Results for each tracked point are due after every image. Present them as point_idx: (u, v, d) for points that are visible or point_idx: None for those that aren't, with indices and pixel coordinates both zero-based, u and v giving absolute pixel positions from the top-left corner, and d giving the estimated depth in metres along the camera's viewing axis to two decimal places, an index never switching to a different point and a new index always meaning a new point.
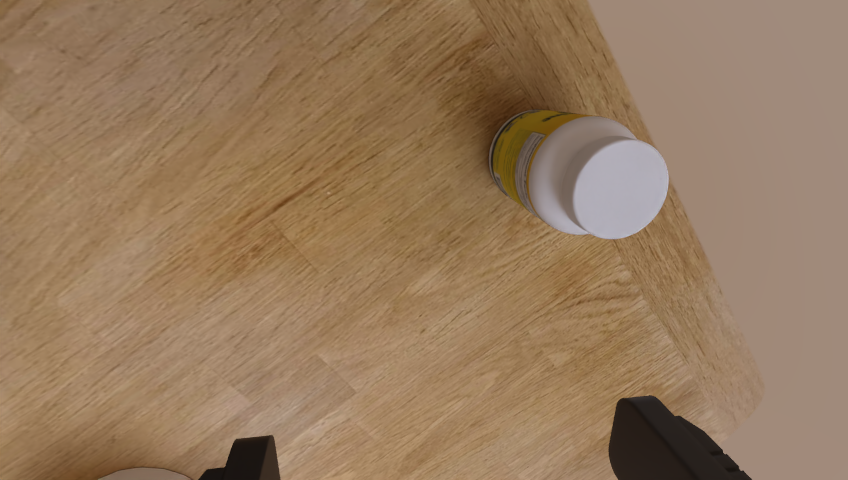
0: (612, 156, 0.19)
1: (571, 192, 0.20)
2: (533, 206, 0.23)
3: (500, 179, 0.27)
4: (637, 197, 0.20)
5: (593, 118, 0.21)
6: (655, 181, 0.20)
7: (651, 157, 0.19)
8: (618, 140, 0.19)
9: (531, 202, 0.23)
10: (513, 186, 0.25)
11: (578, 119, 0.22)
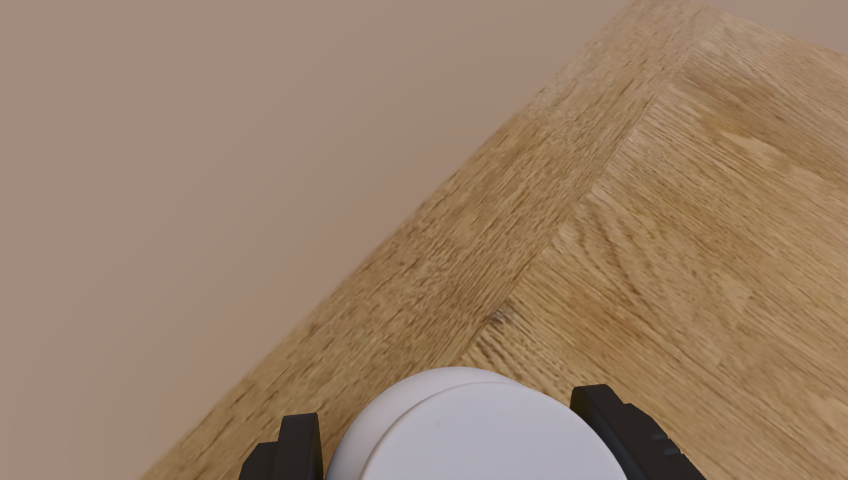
0: None
1: None
2: None
3: None
4: (504, 475, 0.07)
5: None
6: (448, 437, 0.07)
7: None
8: None
9: None
10: None
11: None
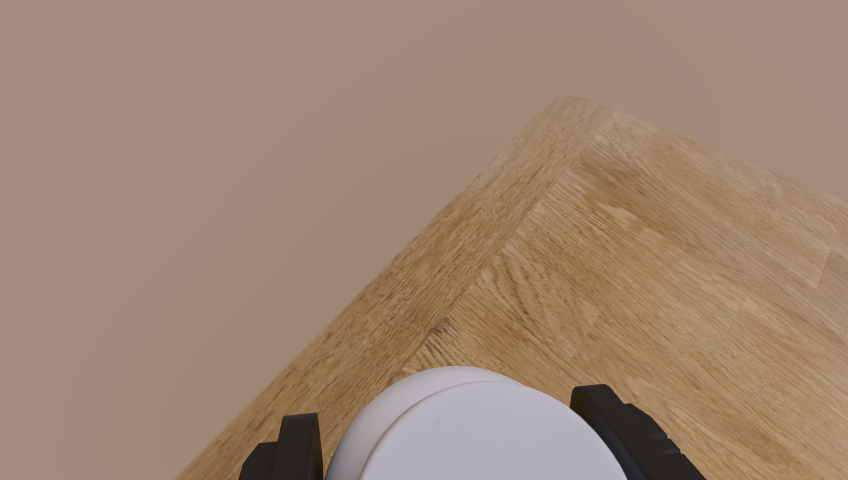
0: None
1: None
2: None
3: None
4: (503, 474, 0.07)
5: None
6: (447, 436, 0.07)
7: None
8: None
9: None
10: None
11: None
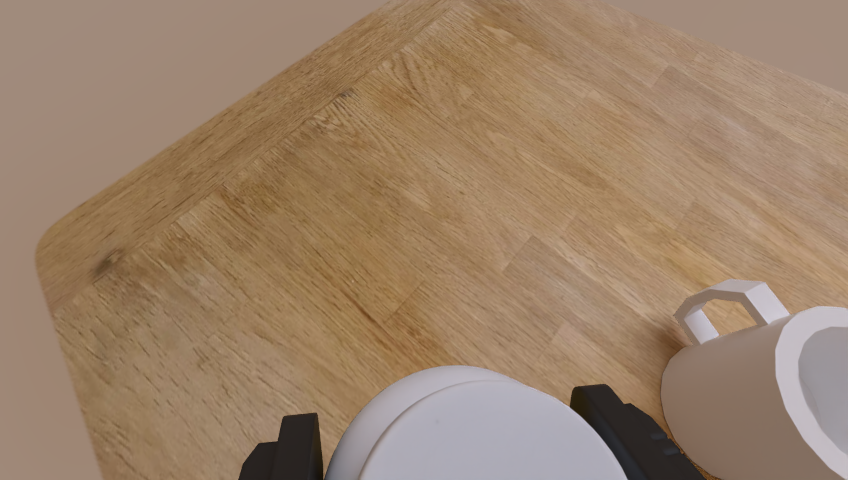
0: None
1: None
2: None
3: None
4: (503, 473, 0.07)
5: None
6: (447, 435, 0.07)
7: None
8: None
9: None
10: None
11: None
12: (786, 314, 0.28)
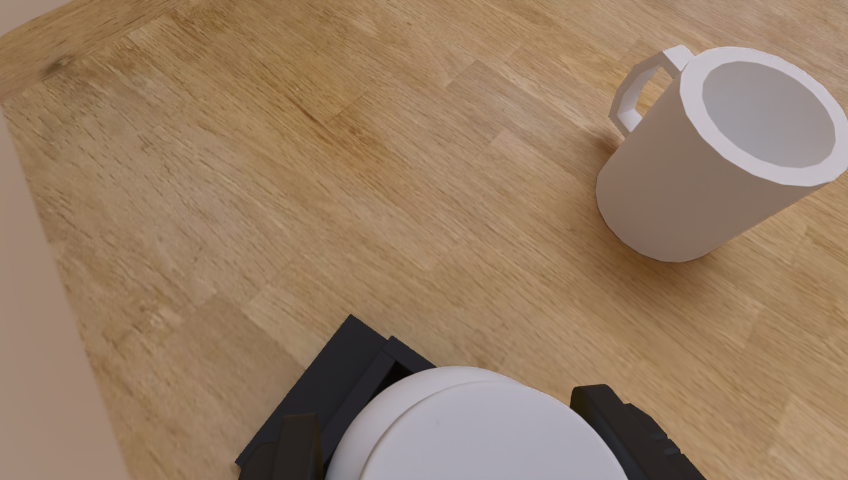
0: None
1: None
2: None
3: None
4: (504, 474, 0.07)
5: None
6: (448, 436, 0.07)
7: None
8: None
9: None
10: None
11: None
12: None
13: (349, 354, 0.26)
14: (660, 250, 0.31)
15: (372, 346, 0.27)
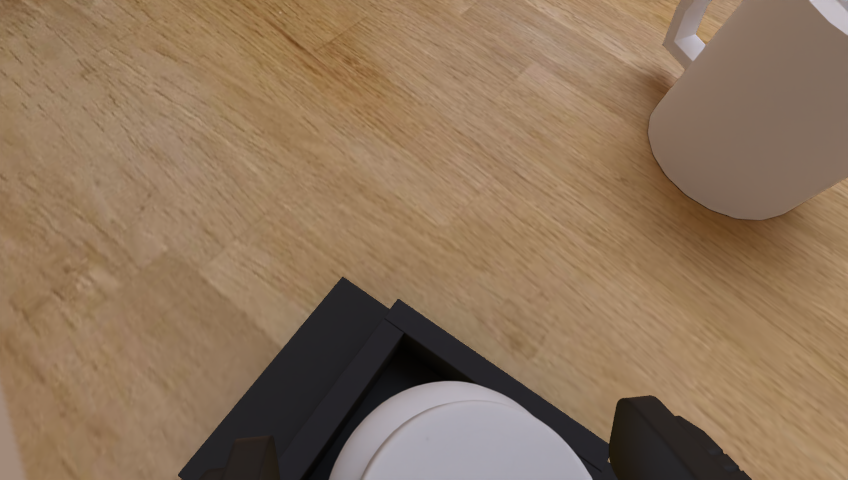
0: None
1: None
2: None
3: None
4: None
5: None
6: (436, 451, 0.08)
7: None
8: None
9: None
10: None
11: None
12: None
13: (340, 328, 0.20)
14: (738, 202, 0.25)
15: (372, 319, 0.20)
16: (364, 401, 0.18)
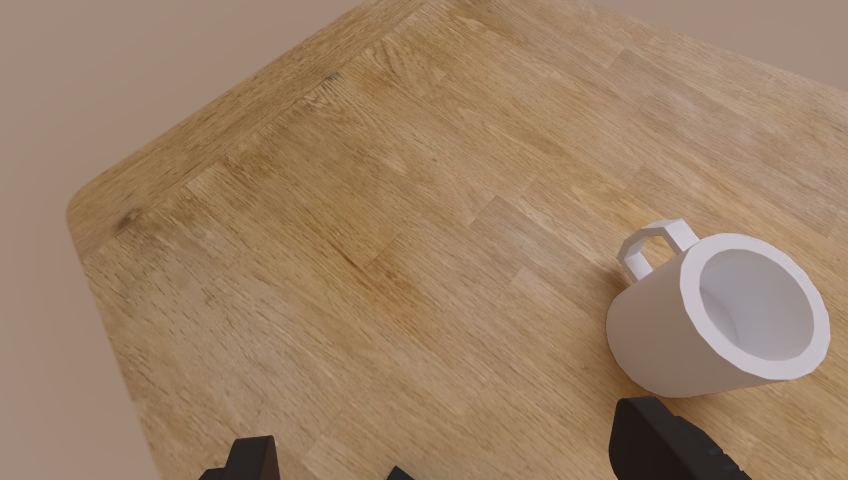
0: None
1: None
2: None
3: None
4: None
5: None
6: None
7: None
8: None
9: None
10: None
11: None
12: None
13: None
14: (665, 392, 0.35)
15: None
16: None
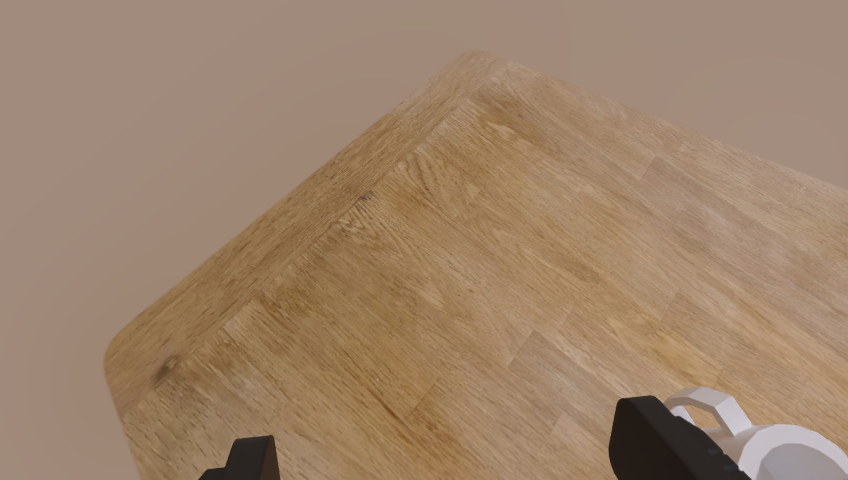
0: None
1: None
2: None
3: None
4: None
5: None
6: None
7: None
8: None
9: None
10: None
11: None
12: (750, 426, 0.33)
13: None
14: None
15: None
16: None
